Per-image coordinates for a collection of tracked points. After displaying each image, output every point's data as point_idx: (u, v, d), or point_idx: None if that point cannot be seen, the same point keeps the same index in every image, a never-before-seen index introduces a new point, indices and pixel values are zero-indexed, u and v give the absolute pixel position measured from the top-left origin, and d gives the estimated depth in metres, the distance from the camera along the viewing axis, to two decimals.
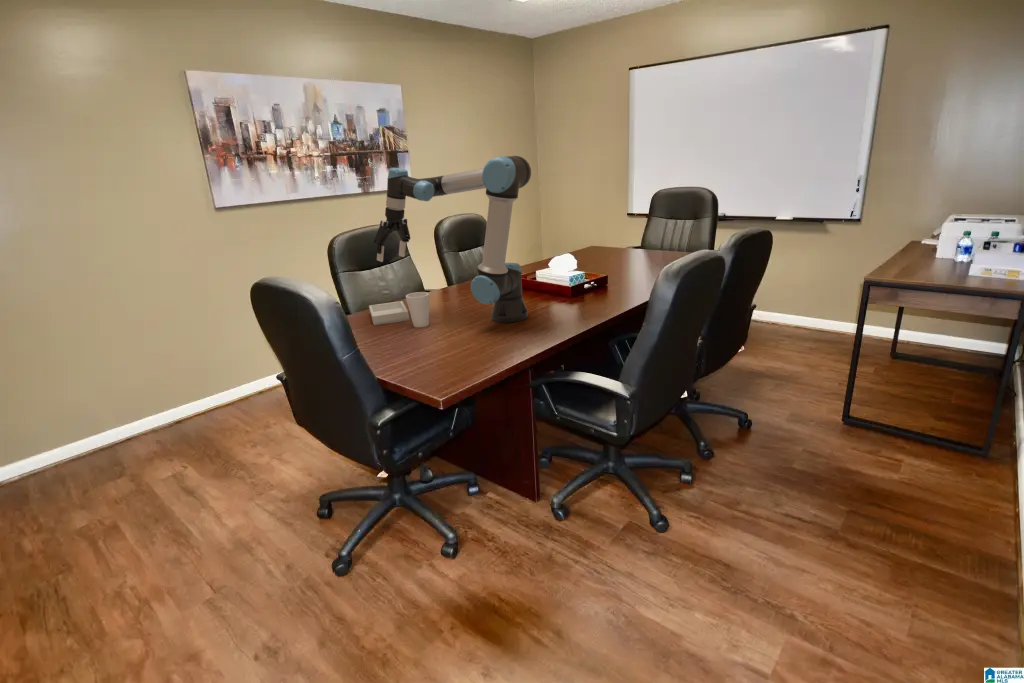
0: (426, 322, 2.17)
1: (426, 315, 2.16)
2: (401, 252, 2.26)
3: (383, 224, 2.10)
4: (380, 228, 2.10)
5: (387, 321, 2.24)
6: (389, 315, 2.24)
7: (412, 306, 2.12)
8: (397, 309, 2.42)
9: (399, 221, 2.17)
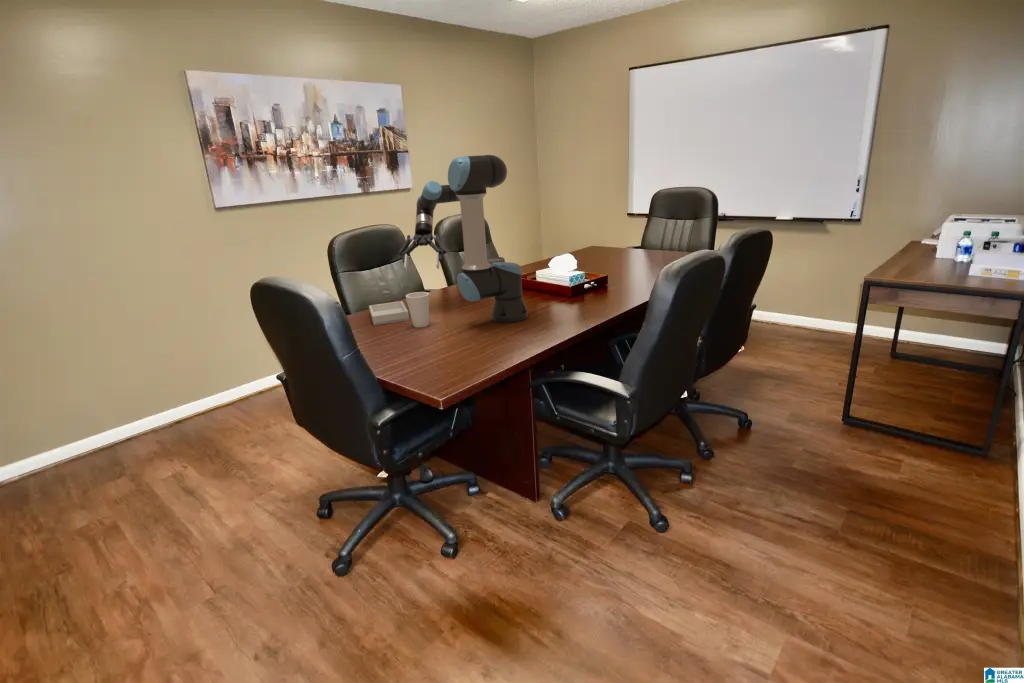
0: (426, 322, 2.17)
1: (426, 315, 2.16)
2: None
3: None
4: None
5: (387, 321, 2.24)
6: (389, 315, 2.24)
7: (412, 306, 2.12)
8: (397, 309, 2.42)
9: (427, 235, 2.29)
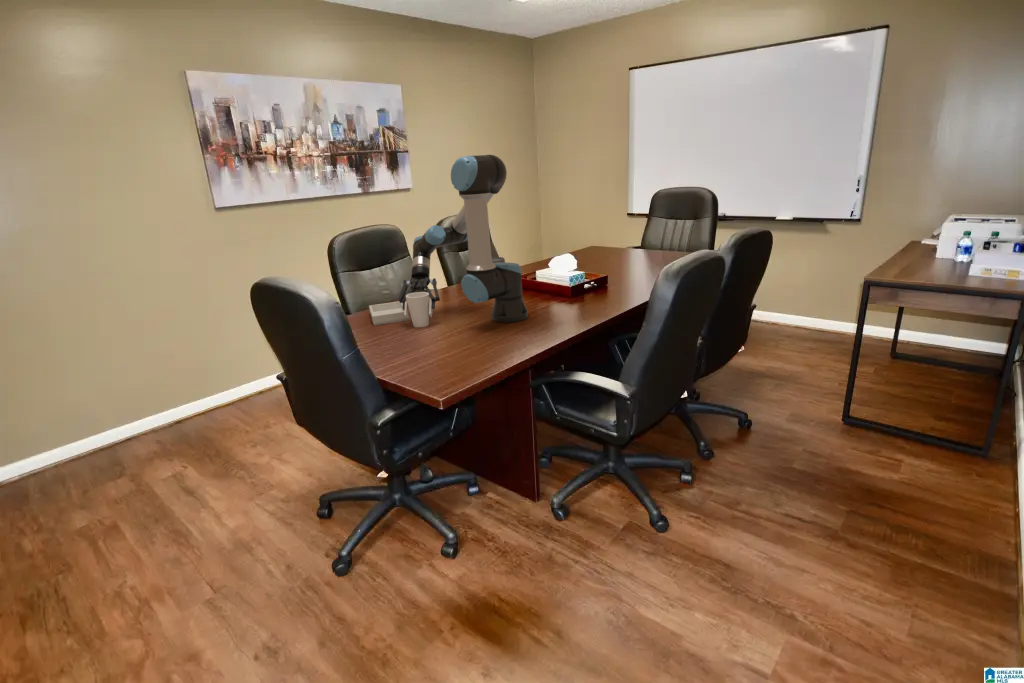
0: (426, 322, 2.17)
1: (426, 315, 2.16)
2: None
3: None
4: None
5: (387, 321, 2.24)
6: (389, 315, 2.24)
7: (412, 306, 2.12)
8: (397, 309, 2.42)
9: (424, 278, 2.21)
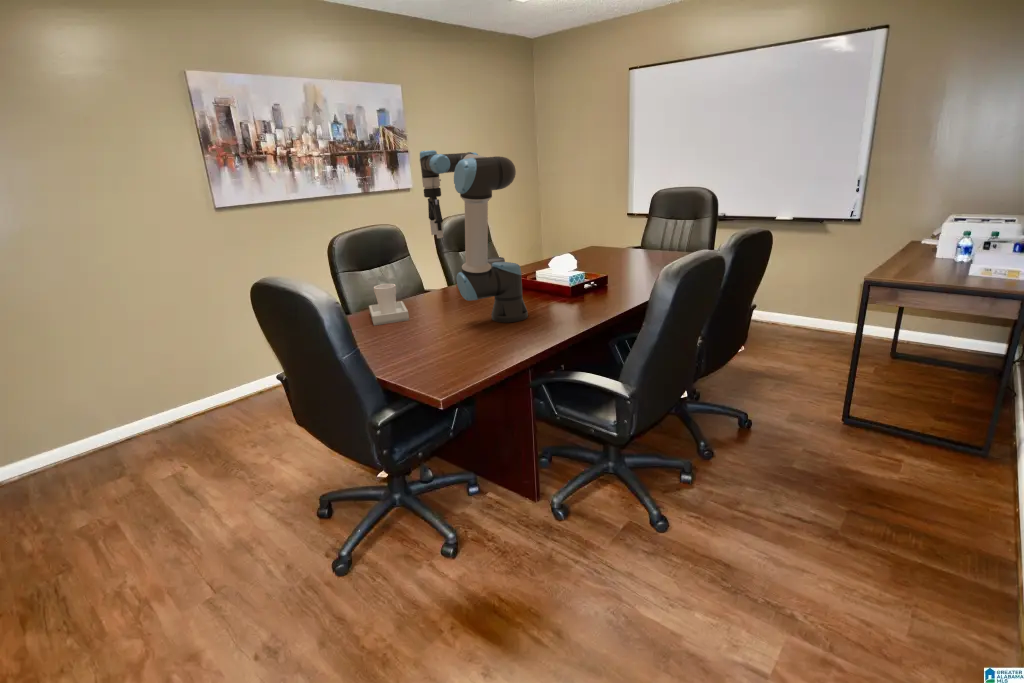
0: (393, 312, 2.32)
1: (393, 305, 2.30)
2: None
3: None
4: None
5: (387, 321, 2.24)
6: (389, 315, 2.24)
7: (379, 296, 2.27)
8: (397, 309, 2.42)
9: (431, 200, 2.32)
